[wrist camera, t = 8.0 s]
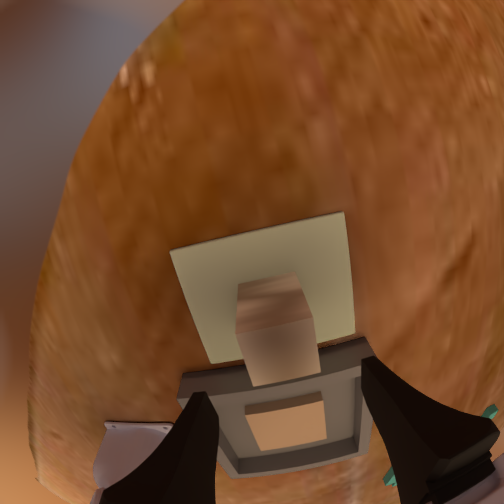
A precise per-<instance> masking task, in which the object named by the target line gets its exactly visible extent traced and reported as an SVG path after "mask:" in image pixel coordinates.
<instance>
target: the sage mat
mask: <svg viewBox="0 0 504 504" xmlns="http://www.w3.org/2000/svg"><path fill="white" fill-rule="evenodd" d="M170 255H171V258H172V261H173V264H174V267H175V270H176V273H177V276H178V279H179V282H180V284H181V287H182V290H183V293H184V296H185V298H186V301H187V304H188V307H189V309H190V312H191V315H192V317H193V320H194V322H195V325H196V328H197V330H198V333H199V335H200V338H201V340H202V343H203V345H204V348H205V350H206V353H207V355H208V357H209V360H210V362H211V364H214V363H221V362H227V361H234V360H240V359H243V356H242V353H241V350H240V347H239V344H238V341H237V338H236V335H235V330H236V312H237V295H238V284H241V283H245V282H250V281H254V280H259V279H263V278H268V277H272V276H276V275H281V274H285V273H289V272H294V271H295V273H296V275H297V278H298V280H299V283H300V285H301V288H302V290H303V293H304V295H305V298H306V300H307V303H308V305H309V308H310V311H311V313H312V316H313V320H314V326H315V333H316V340H317V343H321V342H325V341H329V340H333V339H336V338H340V337H344V336H347V335H351V334H354V333H355V319H354V302H353V289H352V277H351V266H350V256H349V247H348V239H347V231H346V223H345V216H344V212H343V211H340V212H336V213H331V214H326V215H322V216H317V217H312V218H307V219H303V220H298V221H294V222H289V223H285V224H280V225H276V226H271V227H267V228H262V229H258V230H253V231H249V232H244V233H240V234H236V235H231V236H227V237H223V238H218V239H214V240H210V241H206V242H201V243H197V244H193V245H189V246H185V247H181V248H176V249H172V250H170Z"/></svg>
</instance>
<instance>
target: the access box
mask: <svg viewBox="0 0 504 504" xmlns="http://www.w3.org/2000/svg"><path fill="white" fill-rule="evenodd" d="M318 354H319V362H320V369H321V372H320V373H316V374H312V375H308V376H304V377H299V378H295V379H290V380H286V381H281V382H276V383H271V384H265V385H260V386H254V387H253V384H252V381H251V379H250V376H249V373H248V370H247V367H246V365H240V366H234V367H227V368H221V369H214V370H206V371H198V372H190V373H183V375H182V379H181V383H180V387H179V391H178V395H177V401H178V402H179V404H180V406H181V407H182V409H184V407H185V406H186V404H187V402H188V400H189V399H190V397H191V395H192V394H193V392H202V391H206V393H207V395H208V397H209V399H210V400H211V402H212V404H213V406H214V408H215V410H216V412H217V414H218V416H219V444H218V453H217V461H218V462H219V463H220V465H221V466H222V467H223V469H224V470H225V471H226V473H227V474H228V475H229V477H230V478H231V479H236V478H249V477H259V476H267V475H275V474H282V473H288V472H294V471H299V470H305V469H310V468H314V467H319V466H323V465H328V464H332V463H336V462H339V461H343V460H347V459H350V458H354V457H357V456H360V455H364V454H367V453H368V449H369V443H370V436H371V429H372V422H373V418H372V416H371V414H370V412H369V409H368V407H367V405H366V402H365V399H364V396H363V393H362V390H361V359H363V358H367V357H370V356H373V355H374V356H375V357H376V355H375V353H374V351H373V350H372V348H371V346H370V345H369V343H368V341H367V339H366V338H365V337H362V338H359V339H355V340H352V341H348V342H344V343H341V344H337V345H333V346H330V347H326V348H322V349H318Z"/></svg>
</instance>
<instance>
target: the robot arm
mask: <svg viewBox="0 0 504 504" xmlns="http://www.w3.org/2000/svg"><path fill="white" fill-rule="evenodd" d="M361 390H362V393H363V396H364V399H365V402H366V405H367V407H368V409H369V412H370V414H371V416H372V418H373V420H374V422H375V424H376V426H377V428H378V430H379V432H380V434H381V437H382V439H383V441H384V443H385V446H386V449H387V452H388V455H389V458H390V461H391V465H392V468H393V472H394V475H395V479H396V483H397V487H398V492H399V497H400V502H401V504H504V453H503V454H502V455H500V456H499V457H498V458H496V459H495V460H494V461H493V462H492V461H491V460H490V457H491V456H492V454H491V453H490V451H489V450H490V449H491V447H492V446H493V445H494V443H495V442H496V441H497V439H498V437H499V435H500V431H499V430H498V428H497V427H496V425H495V424H494V422H493V421H492V420H491V419H490V418H486V417H480V416H475V415H471V414H468V413H464V412H461V411H458V410H456V409H453V408H450V407H448V406H445V405H443V404H441V403H439V402H437V401H435V400H433V399H431V398H429V397H428V396H426V395H424V394H423V393H421V392H419V391H418V390H416V389H415V388H413V387H412V386H410V385H409V384H408V383H406V382H405V381H404V380H402V379H401V378H400V377H399V376H397V375H396V374H395V373H394V372H392V371H391V370H390V369H389V368H388V367H387V366H385V365H384V364H383V363H382V362H381V361H380V360H379V359H378V358H377V357H375V356H374V355H373V356H370V357H367V358H363V359H361ZM104 425H105V427H106V428H107V431H106V433H105V436H104V438H103V441H102V443H101V446H100V448H99V451H98V453H97V456H96V458H95V461H94V465H93V476H94V480H95V482H96V484H97V486H98V487H99V489H96V490H95V492H94V495H93V497H92V500H91V502H90V504H216V502H215V470H216V462H217V453H218V444H219V416H218V414H217V412H216V410H215V408H214V406H213V404H212V402H211V400H210V399H209V397H208V395H207V393H206V391H202V392H193V394H192V395H191V397H190V399H189V400H188V402H187V404H186V406H185V407H184V409H183V411H182V412H181V414H180V416H179V417H178V419H177V420H176V422H175V423H174V425H173V424H171V423H121V422H105V423H104Z"/></svg>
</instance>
